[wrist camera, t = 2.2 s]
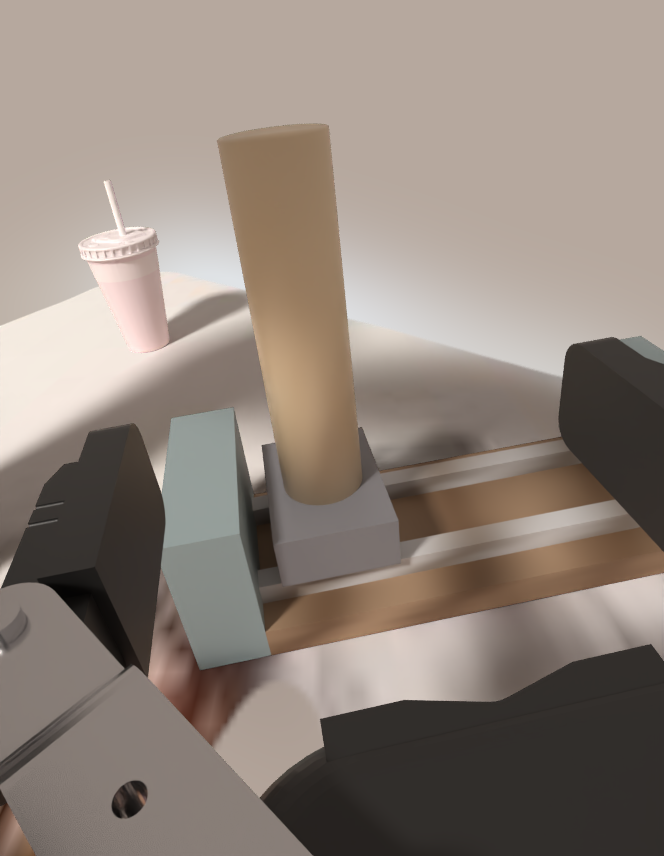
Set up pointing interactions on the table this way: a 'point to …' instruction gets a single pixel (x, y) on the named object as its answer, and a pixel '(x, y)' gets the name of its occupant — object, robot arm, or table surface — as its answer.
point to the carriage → (305, 356)
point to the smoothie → (129, 280)
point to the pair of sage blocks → (224, 534)
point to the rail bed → (466, 547)
